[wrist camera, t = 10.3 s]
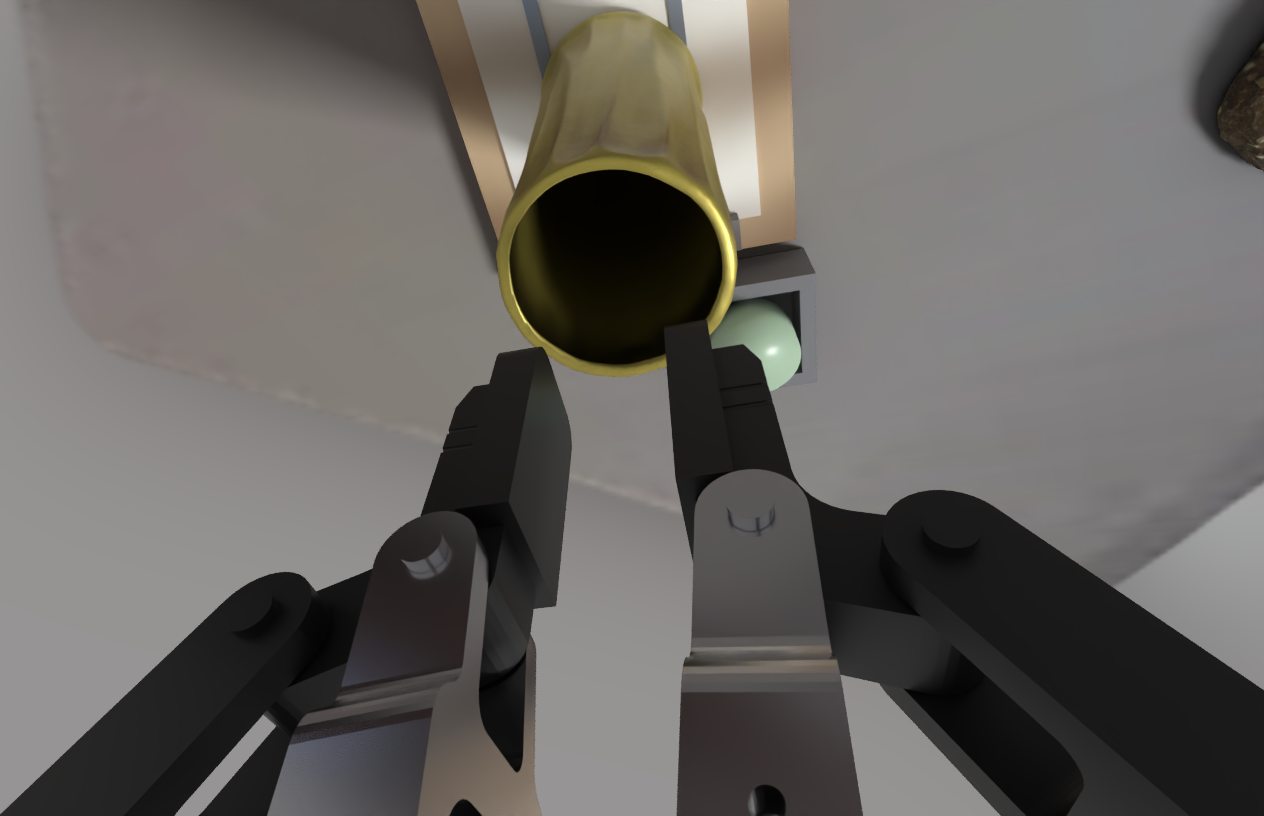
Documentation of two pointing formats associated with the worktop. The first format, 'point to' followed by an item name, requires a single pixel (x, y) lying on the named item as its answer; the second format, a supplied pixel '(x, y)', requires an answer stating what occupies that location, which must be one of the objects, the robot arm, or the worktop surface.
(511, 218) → the vase
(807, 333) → the button housing
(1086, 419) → the worktop surface
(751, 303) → the button
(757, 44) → the clipboard
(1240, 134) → the bread roll
